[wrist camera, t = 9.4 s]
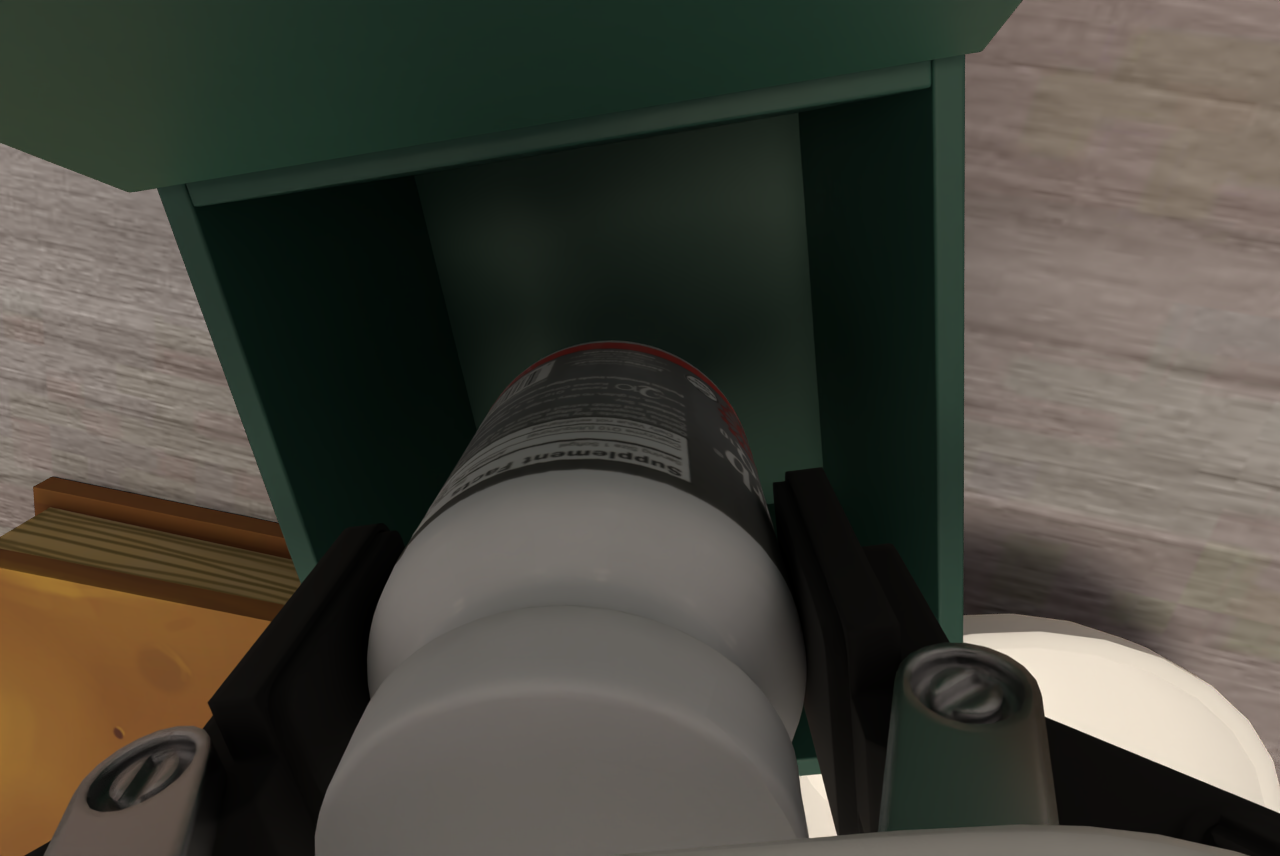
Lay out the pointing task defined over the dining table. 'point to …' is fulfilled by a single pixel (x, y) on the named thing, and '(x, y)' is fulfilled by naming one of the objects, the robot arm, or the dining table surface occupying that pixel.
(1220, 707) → the bowl
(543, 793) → the pill bottle
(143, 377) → the dining table surface
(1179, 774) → the robot arm
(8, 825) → the diary
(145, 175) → the flap
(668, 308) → the green square bin
